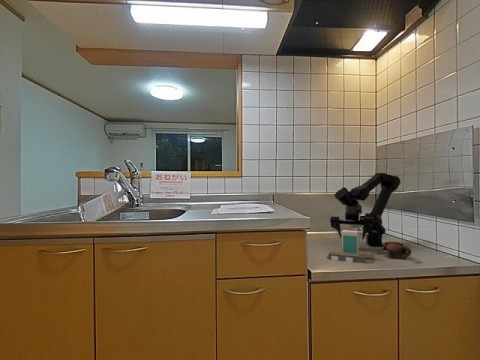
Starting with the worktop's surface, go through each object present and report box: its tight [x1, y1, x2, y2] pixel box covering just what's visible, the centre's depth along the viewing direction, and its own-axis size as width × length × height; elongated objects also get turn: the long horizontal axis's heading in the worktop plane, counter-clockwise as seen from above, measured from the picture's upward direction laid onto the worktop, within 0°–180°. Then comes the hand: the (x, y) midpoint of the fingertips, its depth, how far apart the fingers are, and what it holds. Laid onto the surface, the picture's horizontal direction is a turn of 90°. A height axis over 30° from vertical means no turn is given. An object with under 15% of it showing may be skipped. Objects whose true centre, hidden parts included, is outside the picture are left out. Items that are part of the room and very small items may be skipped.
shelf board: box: [326, 250, 375, 264], centre depth 119 cm, size 12×18×1 cm
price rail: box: [327, 253, 367, 264], centre depth 114 cm, size 1×14×3 cm, turn 65°
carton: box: [341, 229, 359, 257], centre depth 118 cm, size 4×6×11 cm
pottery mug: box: [382, 241, 412, 260], centre depth 118 cm, size 12×10×8 cm
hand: (351, 238), depth 125 cm, fingers open, 9 cm apart
